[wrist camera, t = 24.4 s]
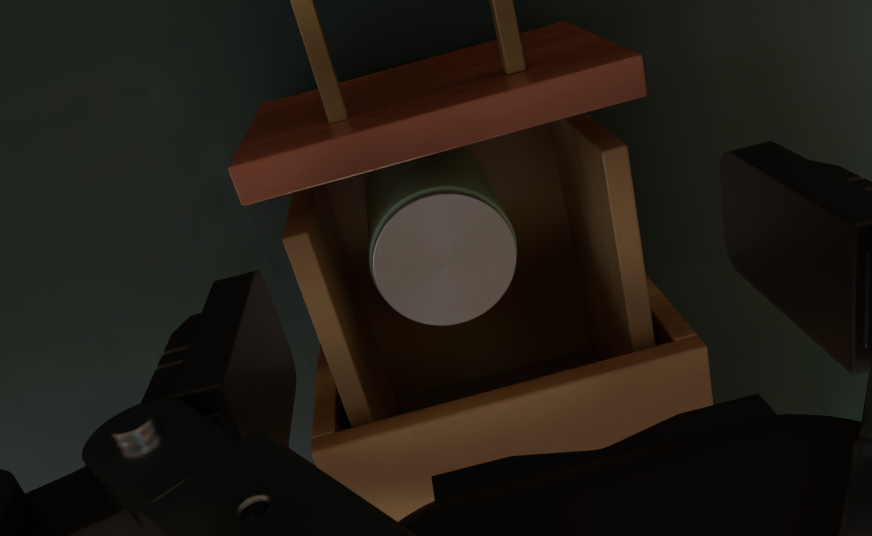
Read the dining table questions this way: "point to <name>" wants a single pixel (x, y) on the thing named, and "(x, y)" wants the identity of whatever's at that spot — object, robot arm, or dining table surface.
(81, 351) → the dining table surface
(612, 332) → the drawer
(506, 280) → the tin can
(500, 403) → the cabinet
